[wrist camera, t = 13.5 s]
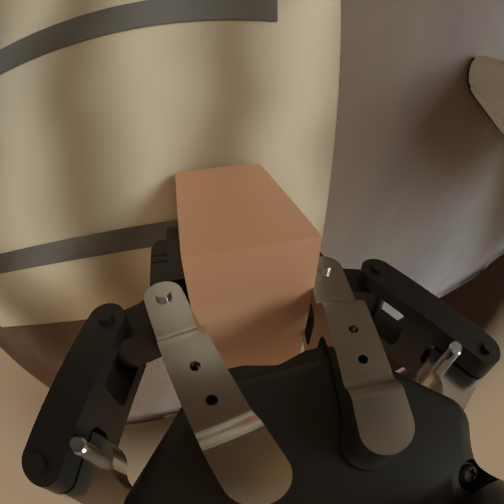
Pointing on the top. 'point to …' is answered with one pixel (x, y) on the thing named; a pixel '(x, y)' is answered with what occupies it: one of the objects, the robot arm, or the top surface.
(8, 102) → the fader console
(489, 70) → the photo printer
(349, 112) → the top surface
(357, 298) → the robot arm
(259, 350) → the block
